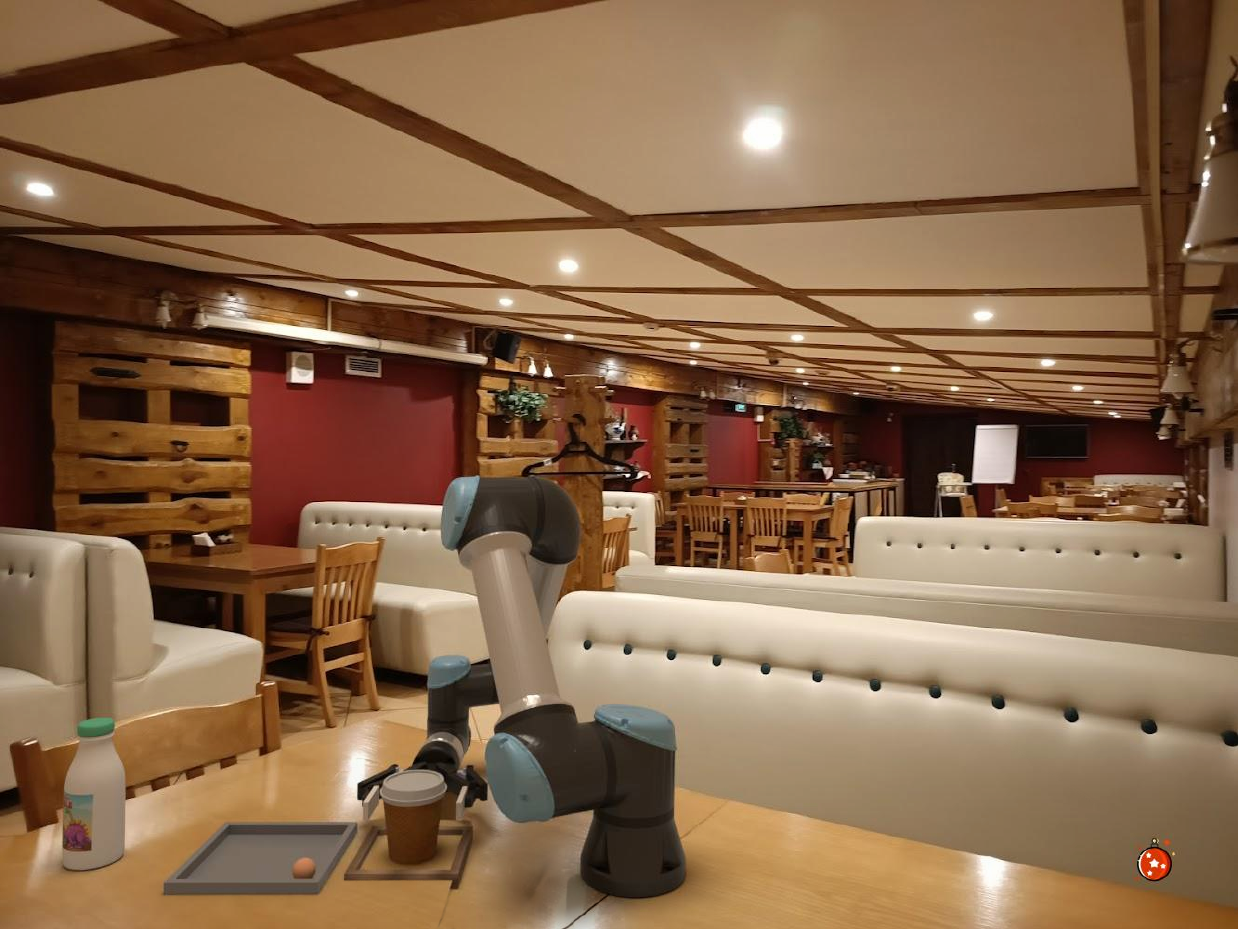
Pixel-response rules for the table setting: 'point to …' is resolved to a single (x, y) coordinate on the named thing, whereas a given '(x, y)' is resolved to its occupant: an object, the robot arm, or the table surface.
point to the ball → (304, 869)
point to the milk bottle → (94, 800)
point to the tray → (262, 858)
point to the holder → (451, 874)
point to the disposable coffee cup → (412, 814)
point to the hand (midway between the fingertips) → (412, 812)
